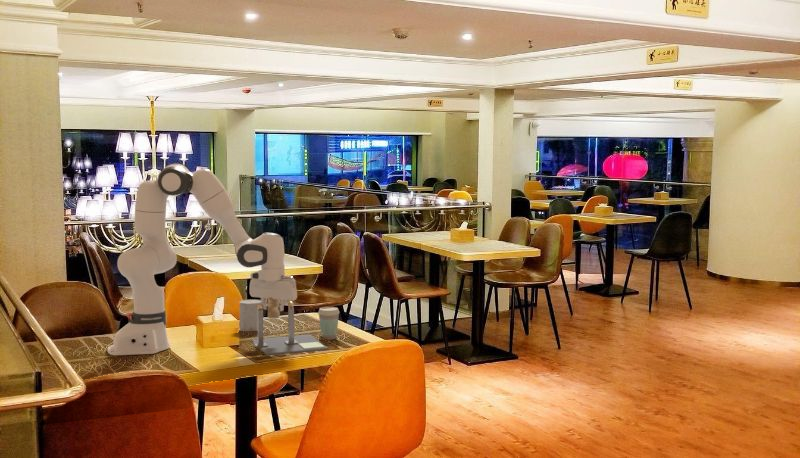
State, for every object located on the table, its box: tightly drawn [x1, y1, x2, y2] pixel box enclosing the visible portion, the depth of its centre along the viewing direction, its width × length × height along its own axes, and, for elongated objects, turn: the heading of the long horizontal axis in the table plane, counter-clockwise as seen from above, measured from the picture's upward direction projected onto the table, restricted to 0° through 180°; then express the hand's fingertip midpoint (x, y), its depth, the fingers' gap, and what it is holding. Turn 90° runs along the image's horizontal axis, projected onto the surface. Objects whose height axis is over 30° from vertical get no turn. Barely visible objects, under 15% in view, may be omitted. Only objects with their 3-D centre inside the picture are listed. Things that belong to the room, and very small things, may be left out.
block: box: [267, 297, 281, 319], centre depth 320 cm, size 4×4×8 cm
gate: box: [253, 301, 298, 349], centre depth 317 cm, size 16×4×16 cm, turn 112°
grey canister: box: [238, 298, 263, 332], centre depth 345 cm, size 10×10×12 cm
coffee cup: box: [317, 306, 340, 341], centre depth 332 cm, size 8×8×12 cm
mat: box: [251, 334, 329, 357], centre depth 320 cm, size 24×24×1 cm
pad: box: [299, 341, 326, 349], centre depth 316 cm, size 8×8×1 cm
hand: (273, 310), depth 320 cm, fingers closed on block, 5 cm apart
